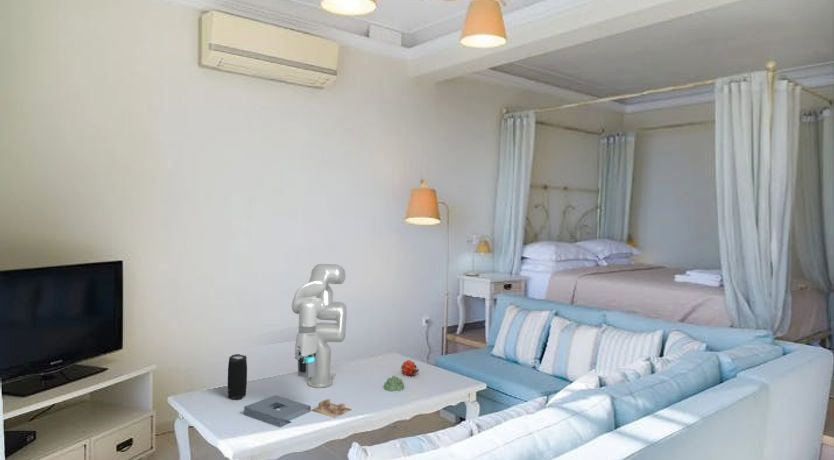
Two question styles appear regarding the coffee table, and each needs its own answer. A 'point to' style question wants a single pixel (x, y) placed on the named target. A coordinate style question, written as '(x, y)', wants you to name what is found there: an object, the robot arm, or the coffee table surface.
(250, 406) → the port
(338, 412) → the brown holder base
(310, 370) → the plug
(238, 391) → the portable speaker
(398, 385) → the decorative artifact
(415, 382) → the coffee table surface
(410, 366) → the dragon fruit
